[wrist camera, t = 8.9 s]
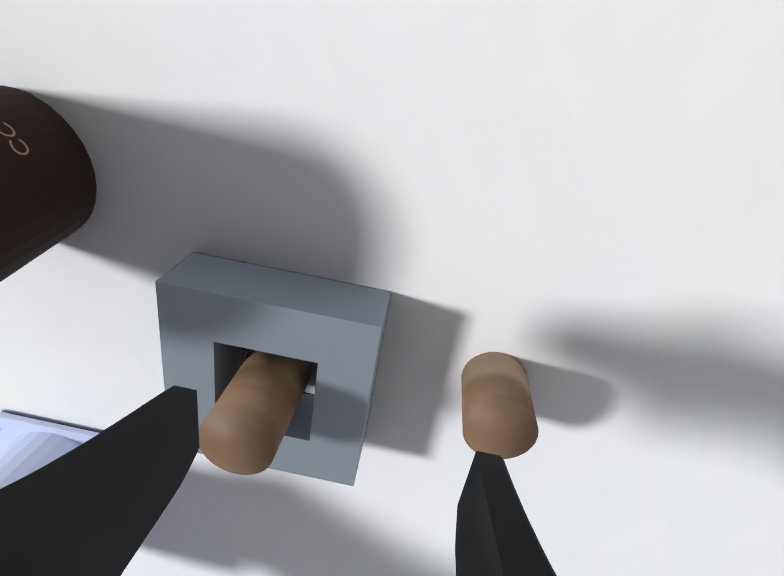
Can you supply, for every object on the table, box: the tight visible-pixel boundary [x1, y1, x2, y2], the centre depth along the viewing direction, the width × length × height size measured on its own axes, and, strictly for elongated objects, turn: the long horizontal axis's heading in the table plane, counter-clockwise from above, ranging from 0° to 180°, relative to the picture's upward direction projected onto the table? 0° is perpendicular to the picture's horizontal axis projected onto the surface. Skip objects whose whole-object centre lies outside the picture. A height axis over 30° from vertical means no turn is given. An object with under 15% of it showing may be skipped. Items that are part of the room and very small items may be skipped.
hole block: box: [155, 252, 391, 486], centre depth 21 cm, size 9×9×3 cm
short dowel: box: [462, 352, 538, 459], centre depth 20 cm, size 3×3×4 cm
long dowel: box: [199, 350, 316, 475], centre depth 20 cm, size 3×3×6 cm
